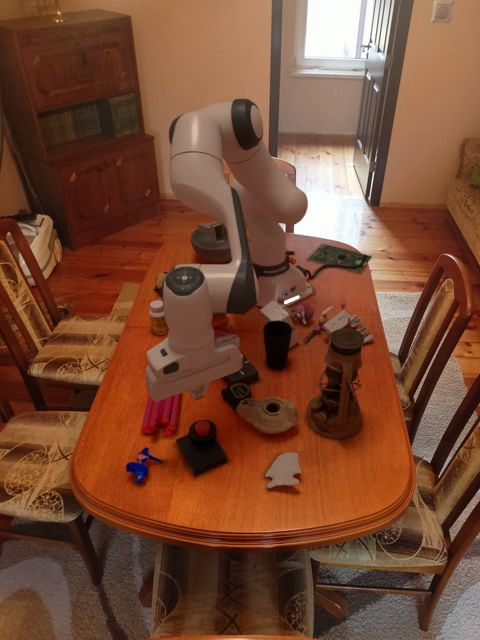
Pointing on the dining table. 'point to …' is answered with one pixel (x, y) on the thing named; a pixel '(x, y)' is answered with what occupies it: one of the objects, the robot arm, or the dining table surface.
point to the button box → (201, 450)
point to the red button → (202, 428)
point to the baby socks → (357, 323)
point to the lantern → (338, 387)
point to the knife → (289, 252)
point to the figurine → (140, 465)
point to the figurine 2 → (301, 315)
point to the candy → (325, 319)
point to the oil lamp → (268, 414)
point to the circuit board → (339, 257)
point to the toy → (159, 281)
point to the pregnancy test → (336, 320)
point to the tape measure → (236, 393)
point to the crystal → (161, 414)
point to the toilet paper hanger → (213, 230)
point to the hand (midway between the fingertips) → (198, 397)
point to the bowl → (211, 247)
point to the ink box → (279, 318)
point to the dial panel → (243, 374)
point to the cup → (277, 343)
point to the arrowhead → (284, 470)
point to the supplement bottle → (158, 318)
